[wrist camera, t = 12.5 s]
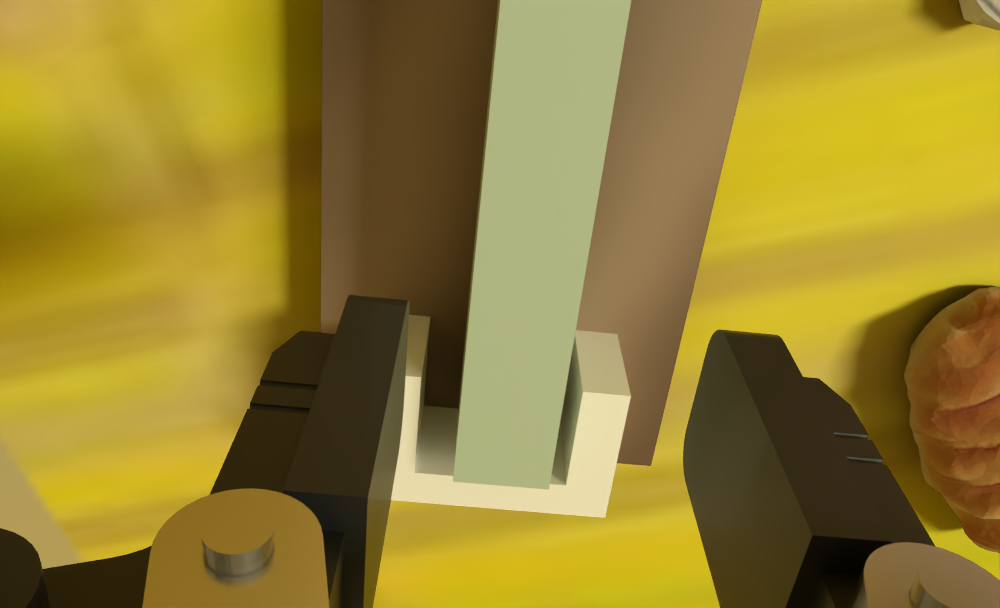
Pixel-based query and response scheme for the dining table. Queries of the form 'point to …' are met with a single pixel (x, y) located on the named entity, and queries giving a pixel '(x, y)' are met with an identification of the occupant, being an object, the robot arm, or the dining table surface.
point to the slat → (534, 230)
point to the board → (458, 164)
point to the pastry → (961, 410)
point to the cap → (579, 450)
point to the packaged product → (982, 12)
